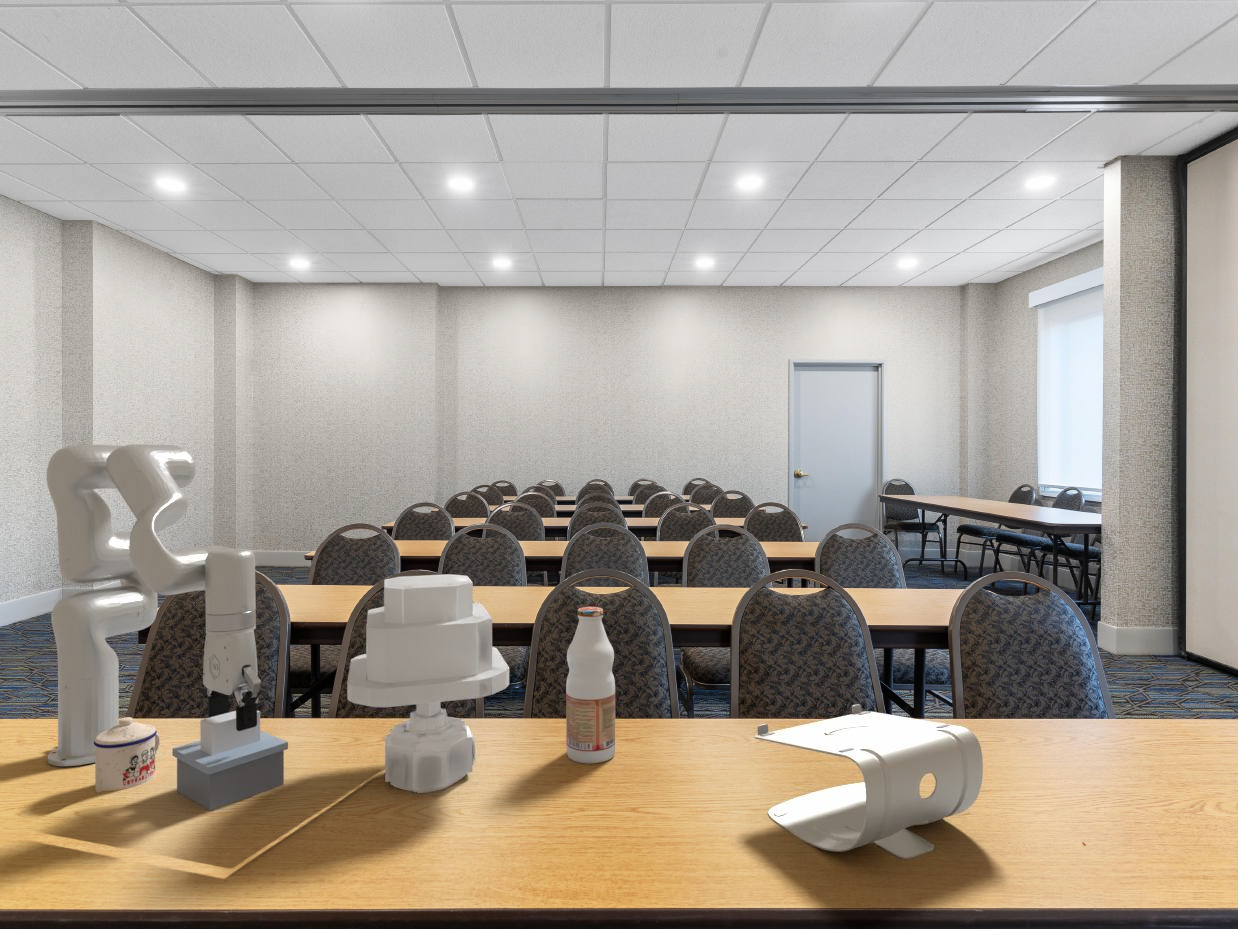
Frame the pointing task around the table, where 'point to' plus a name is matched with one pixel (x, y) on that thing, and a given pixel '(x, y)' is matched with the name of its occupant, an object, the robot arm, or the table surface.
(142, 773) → the teacup with lid
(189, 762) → the lid
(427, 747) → the white tiered tall piece
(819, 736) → the portable electronic device stand
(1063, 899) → the table surface
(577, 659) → the fruit juice
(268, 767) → the storage box
